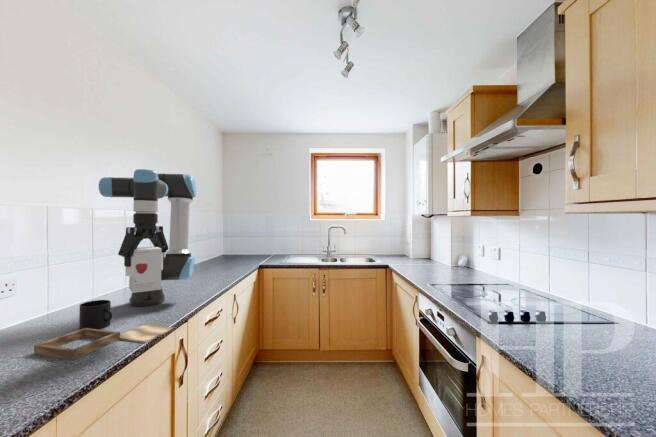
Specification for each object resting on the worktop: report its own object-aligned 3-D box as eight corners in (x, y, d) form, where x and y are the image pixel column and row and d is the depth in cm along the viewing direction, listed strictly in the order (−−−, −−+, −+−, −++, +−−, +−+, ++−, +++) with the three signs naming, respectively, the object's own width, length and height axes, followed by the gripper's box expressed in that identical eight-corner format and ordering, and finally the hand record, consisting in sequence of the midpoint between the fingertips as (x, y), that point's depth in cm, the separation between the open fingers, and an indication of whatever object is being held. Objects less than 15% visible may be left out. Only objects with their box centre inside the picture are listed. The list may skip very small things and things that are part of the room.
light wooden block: (145, 325, 117) (145, 324, 117) (173, 329, 113) (173, 327, 113) (114, 338, 104) (114, 337, 104) (145, 343, 101) (145, 341, 101)
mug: (100, 332, 110) (100, 307, 110) (72, 330, 112) (72, 305, 112) (122, 323, 119) (122, 300, 119) (96, 321, 121) (96, 299, 121)
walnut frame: (85, 334, 107) (85, 327, 107) (120, 339, 104) (120, 332, 104) (34, 353, 92) (34, 345, 92) (72, 359, 89) (72, 351, 89)
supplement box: (131, 293, 102) (132, 249, 102) (128, 288, 109) (128, 247, 109) (161, 289, 108) (162, 248, 108) (157, 285, 115) (157, 246, 115)
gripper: (163, 213, 121) (162, 266, 121) (105, 212, 98) (104, 278, 98) (178, 213, 119) (178, 267, 119) (123, 212, 96) (123, 279, 96)
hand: (145, 272), depth 109 cm, fingers closed on supplement box, 12 cm apart
